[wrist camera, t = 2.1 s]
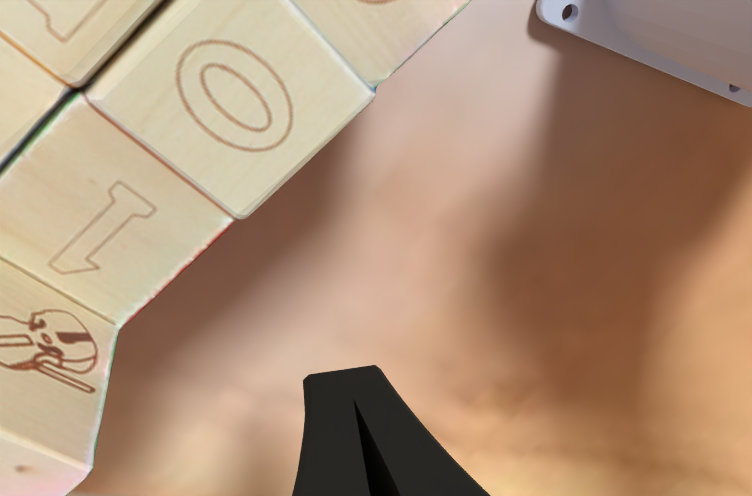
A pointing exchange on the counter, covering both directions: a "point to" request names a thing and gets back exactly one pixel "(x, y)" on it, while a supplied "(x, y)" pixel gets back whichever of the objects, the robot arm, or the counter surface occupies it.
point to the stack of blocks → (150, 172)
